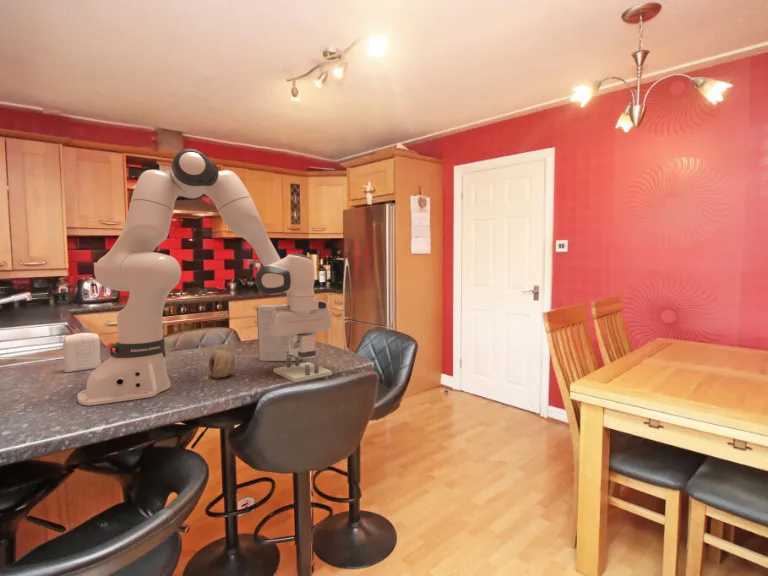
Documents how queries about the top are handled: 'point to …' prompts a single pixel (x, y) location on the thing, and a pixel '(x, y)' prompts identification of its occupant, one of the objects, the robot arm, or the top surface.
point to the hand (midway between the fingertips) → (301, 347)
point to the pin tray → (301, 371)
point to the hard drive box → (270, 338)
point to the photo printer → (81, 352)
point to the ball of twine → (221, 363)
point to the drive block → (303, 346)
